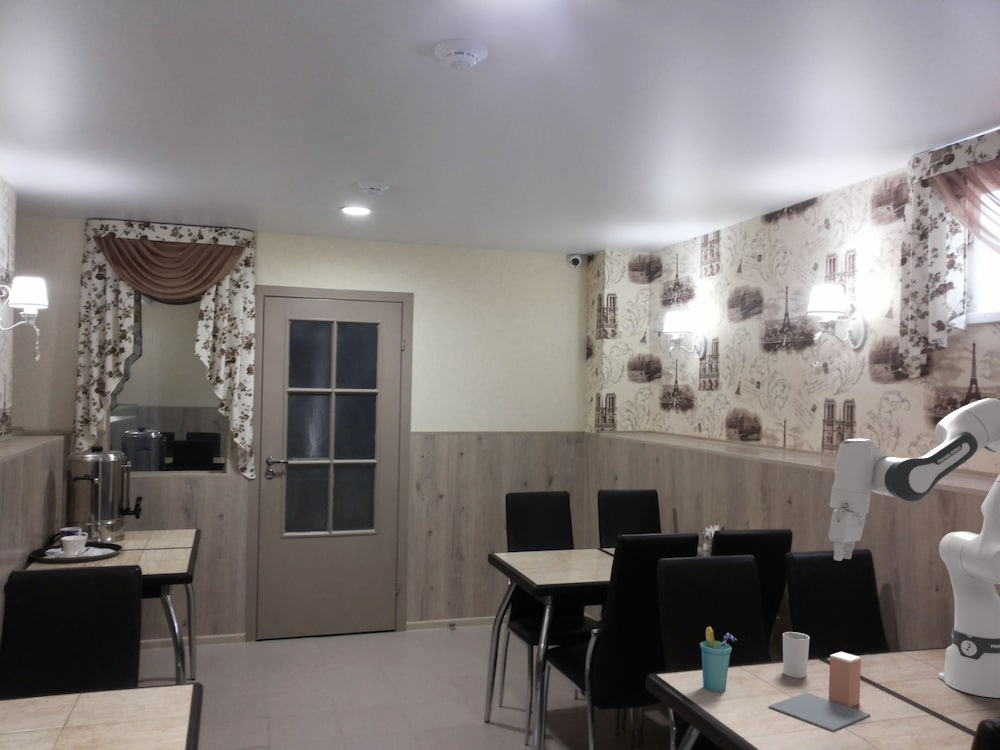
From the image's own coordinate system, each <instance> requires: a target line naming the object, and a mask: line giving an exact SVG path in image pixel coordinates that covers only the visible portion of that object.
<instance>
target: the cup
mask: <svg viewBox="0 0 1000 750" xmlns="http://www.w3.org/2000/svg"><path fill="white" fill-rule="evenodd" d="M705 639H706V640H703V641H701V642H699V647H700V649H701V662H702V663H701V666H702V682H703V683H702V684H703V686H702V687H703V688H704V690H706V691H709V692H712V693H724V692H725V691H726V690H727V689H726V688H727V680H728V674H729V665H730V657H731V653H732V646H731V645H730V644H729V643H727V640H728V639H730V640H731V641H732V642H734V643H737V642H738V639H737V638H735V636H733V635H732V634H731V633H729V632H727V633H726V634H724V637H723V639H722V641H719V640H715V635H714V630H713V628H712V627H711V626H707V627H706V629H705Z"/></svg>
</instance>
